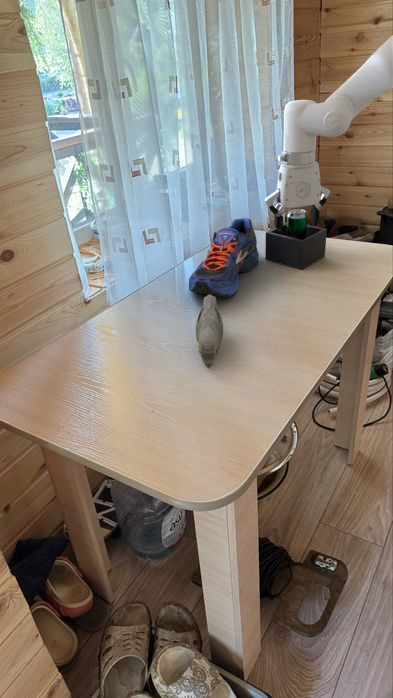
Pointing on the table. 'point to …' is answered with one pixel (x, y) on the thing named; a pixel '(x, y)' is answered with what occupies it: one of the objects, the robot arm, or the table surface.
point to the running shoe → (226, 260)
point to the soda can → (297, 224)
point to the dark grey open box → (296, 247)
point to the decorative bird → (209, 330)
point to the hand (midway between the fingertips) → (296, 227)
